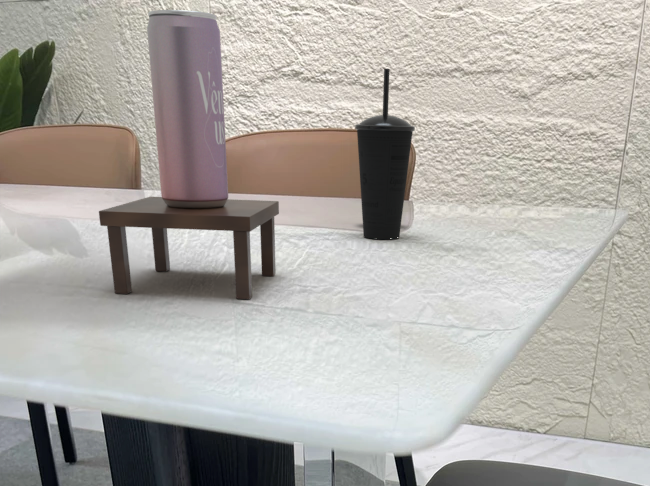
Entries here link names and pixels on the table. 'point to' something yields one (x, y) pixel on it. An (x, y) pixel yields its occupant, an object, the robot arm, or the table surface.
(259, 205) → the side table
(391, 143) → the drinking cup
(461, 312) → the table surface
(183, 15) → the beverage can
